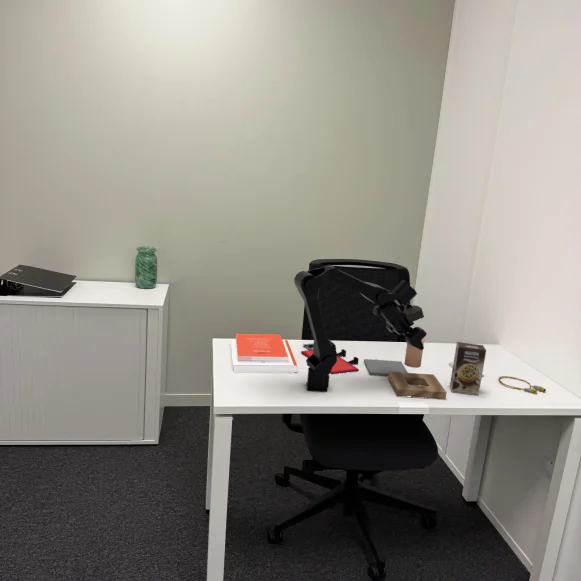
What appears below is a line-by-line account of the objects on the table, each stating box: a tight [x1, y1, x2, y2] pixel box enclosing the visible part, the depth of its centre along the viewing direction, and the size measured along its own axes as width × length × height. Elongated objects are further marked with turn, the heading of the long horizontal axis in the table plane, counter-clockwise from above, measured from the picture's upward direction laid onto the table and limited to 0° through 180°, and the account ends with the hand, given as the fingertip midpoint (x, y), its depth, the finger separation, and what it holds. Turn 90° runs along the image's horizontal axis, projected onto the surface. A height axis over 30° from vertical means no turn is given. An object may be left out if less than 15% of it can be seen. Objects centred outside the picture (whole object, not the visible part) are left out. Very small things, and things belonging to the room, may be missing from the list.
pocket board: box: [387, 372, 447, 400], centre depth 208 cm, size 16×16×2 cm
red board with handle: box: [300, 343, 360, 375], centre depth 231 cm, size 30×3×15 cm
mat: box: [363, 358, 409, 377], centre depth 224 cm, size 14×14×1 cm
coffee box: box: [449, 341, 487, 396], centre depth 208 cm, size 9×6×16 cm
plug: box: [403, 336, 426, 369], centre depth 209 cm, size 6×6×12 cm
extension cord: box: [497, 375, 547, 395], centre depth 219 cm, size 12×16×2 cm
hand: (418, 346), depth 210 cm, fingers closed on plug, 5 cm apart
